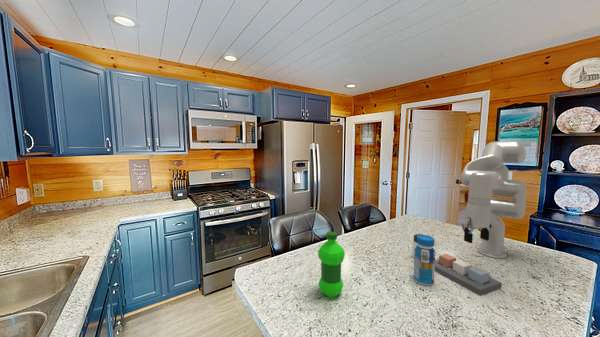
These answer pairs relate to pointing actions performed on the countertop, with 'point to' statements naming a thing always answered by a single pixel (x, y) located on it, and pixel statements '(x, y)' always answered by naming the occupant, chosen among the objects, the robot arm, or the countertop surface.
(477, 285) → the slotted grey plate
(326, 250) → the plastic bottle
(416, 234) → the jar
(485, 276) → the slate key
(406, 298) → the countertop surface
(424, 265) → the beverage bottle
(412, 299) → the countertop surface
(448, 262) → the brick key
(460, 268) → the ivory key
